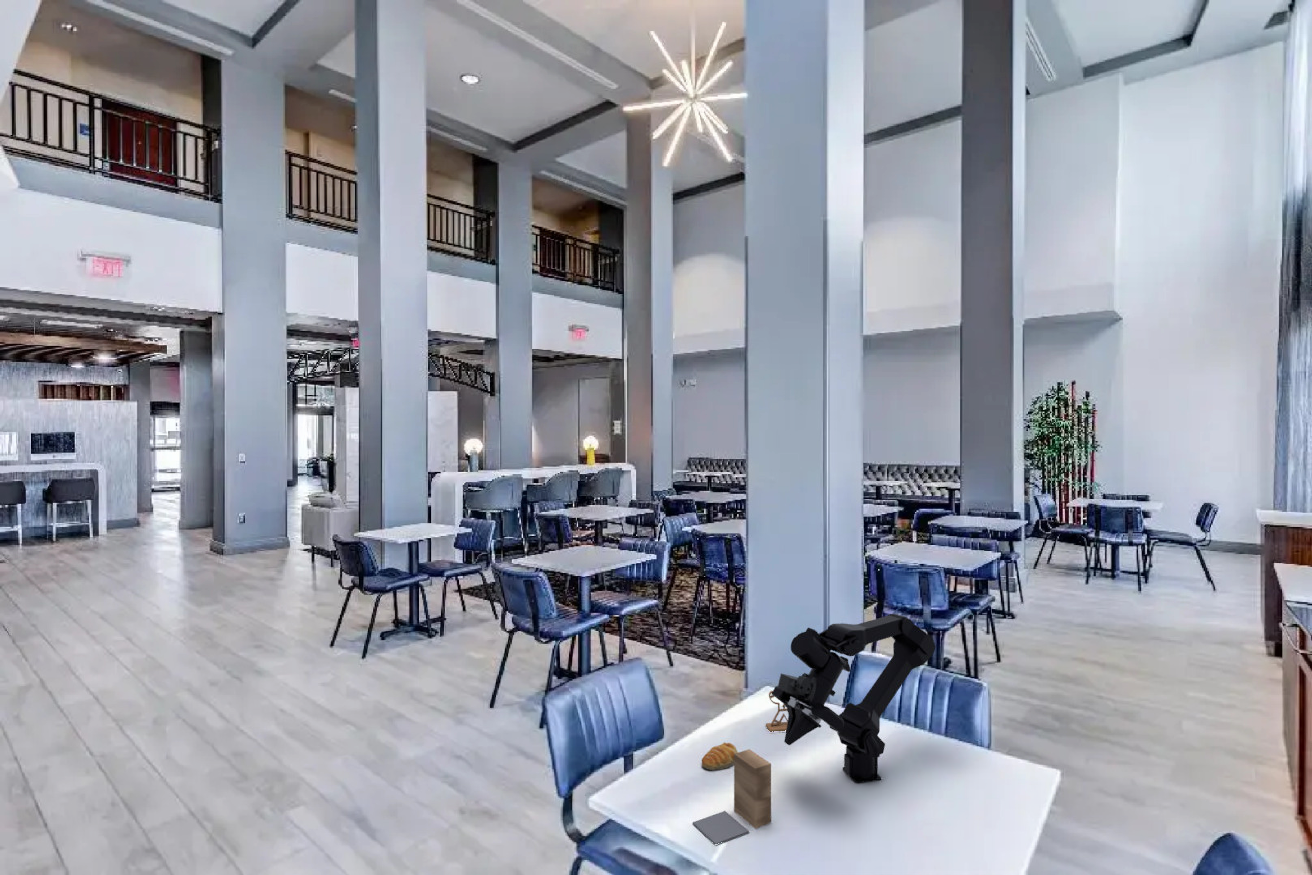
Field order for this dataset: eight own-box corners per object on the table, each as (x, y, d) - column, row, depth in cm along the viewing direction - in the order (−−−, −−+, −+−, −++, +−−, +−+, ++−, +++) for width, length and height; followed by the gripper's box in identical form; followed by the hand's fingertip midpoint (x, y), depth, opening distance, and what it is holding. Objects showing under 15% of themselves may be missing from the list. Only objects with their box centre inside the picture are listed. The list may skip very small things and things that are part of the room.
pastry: (714, 776, 155) (714, 759, 155) (694, 765, 160) (694, 749, 160) (742, 762, 161) (742, 746, 161) (721, 752, 166) (721, 737, 166)
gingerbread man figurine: (797, 724, 181) (797, 679, 181) (802, 730, 177) (802, 685, 177) (765, 726, 179) (765, 681, 179) (770, 733, 176) (769, 687, 175)
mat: (725, 812, 140) (725, 810, 140) (749, 832, 133) (749, 830, 133) (692, 824, 136) (692, 822, 136) (715, 845, 129) (715, 843, 129)
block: (749, 805, 142) (749, 749, 142) (771, 822, 136) (771, 763, 136) (734, 811, 140) (734, 753, 140) (755, 828, 134) (755, 768, 134)
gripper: (773, 649, 154) (737, 711, 149) (824, 668, 137) (785, 739, 132) (806, 675, 157) (772, 736, 152) (860, 697, 140) (824, 767, 135)
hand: (786, 743), depth 143 cm, fingers closed
